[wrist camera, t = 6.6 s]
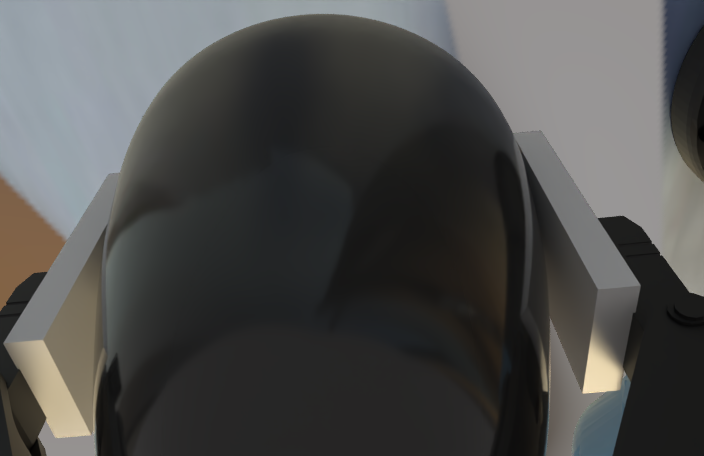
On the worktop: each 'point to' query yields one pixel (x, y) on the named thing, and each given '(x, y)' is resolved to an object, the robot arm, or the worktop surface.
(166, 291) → the glossy black egg shape
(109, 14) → the worktop surface
